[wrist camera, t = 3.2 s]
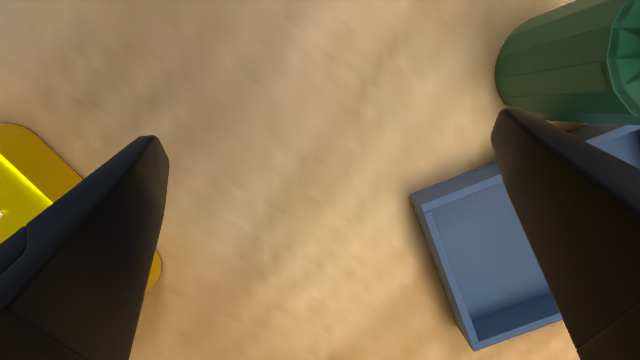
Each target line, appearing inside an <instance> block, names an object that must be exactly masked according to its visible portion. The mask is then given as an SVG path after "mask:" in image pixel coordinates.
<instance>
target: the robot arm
mask: <svg viewBox="0 0 640 360" xmlns="http://www.w3.org/2000/svg"><path fill="white" fill-rule="evenodd" d="M491 143H492V146H493V150H494V153H495V156H496V160H497V163H498V166H499V170H500V173H501V177H502V180H503V183H504V186H505V189H506V191H507V194H508V196H509V199H510V201H511V203H512V205H513V208H514V210H515V212H516V214H517V217H518V219H519V221H520V223H521V226H522V228H523V230H524V233H525V235H526V237H527V239H528V242H529V244H530V246H531V248H532V251H533V253H534V255H535V257H536V260H537V262H538V264H539V267H540V269H541V271H542V273H543V276H544V278H545V280H546V282H547V285H548V287H549V289H550V291H551V294H552V296H553V298H554V300H555V303H556V305H557V307H558V310H559V312H560V314H561V316H562V319H563V321H564V323H565V325H566V328H567V330H568V332H569V334H570V337H571V339H572V341H573V344H574V346H575V348H576V349H577V350H576V351H577V353H578V355H579V358H580V360H640V169H639V168H637V167H635V166H633V165H631V164H629V163H627V162H625V161H623V160H621V159H619V158H617V157H615V156H613V155H611V154H609V153H607V152H605V151H603V150H601V149H599V148H597V147H595V146H593V145H591V144H590V143H588V142H586V141H584V140H582V139H580V138H578V137H576V136H574V135H572V134H570V133H568V132H566V131H564V130H562V129H560V128H558V127H556V126H554V125H552V124H550V123H548V122H546V121H544V120H542V119H541V118H539V117H537V116H535V115H533V114H531V113H529V112H527V111H525V110H523V109H521V108H518V107H514V108H504V109H502V110H501V111H500V112H499V114H498V117H497V119H496V122H495V125H494V127H493V130H492V133H491ZM168 175H169V159H168V157H167V155H166V153H165V151H164V149H163V146H162V144H161V142H160V140H159V139H158V138H157V137H156V136H154V135H150V136H140V137H138V138H137V139H135V140H134V141H133V142H131V143H130V144H129V145H128V146H126V147H125V148H124V149H122V150H121V151H120V152H118V153H117V154H116V155H115V156H113V157H112V158H111V159H109V160H108V161H107V162H106V163H104V164H103V165H102V166H100V167H99V168H98V169H96V170H95V171H94V172H93V173H91V174H90V175H89V176H87V177H86V178H85V179H84V180H82V181H81V182H80V183H78V184H77V185H76V186H74V187H73V188H72V189H71V190H69V191H68V192H67V193H65V194H64V195H63V196H62V197H60V198H59V199H58V200H56V201H55V202H54V203H52V204H51V205H50V206H49V207H47V208H46V209H45V210H43V211H42V212H41V213H40V214H38V215H37V216H36V217H34V218H33V219H32V220H30V221H29V222H28V223H27V224H26V226H23V227H21V228H20V229H19V230H17V231H16V232H15V233H14V234H12V235H11V236H10V237H8V238H7V239H6V240H4V241H3V242H2V243H0V360H129V356H130V352H131V348H132V344H133V340H134V336H135V332H136V328H137V323H138V319H139V315H140V311H141V307H142V303H143V299H144V295H145V291H146V287H147V283H148V278H149V274H150V270H151V266H152V262H153V258H154V254H155V250H156V246H157V242H158V238H159V233H160V229H161V225H162V221H163V216H164V210H165V202H166V193H167V184H168Z"/></svg>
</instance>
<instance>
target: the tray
mask: <svg viewBox="0 0 640 360" xmlns="http://www.w3.org/2000/svg"><path fill="white" fill-rule="evenodd" d="M568 133H570V134H572V135H574V136H576V137H578V138H580V139H582V140H584V141H586V142H588V143H590V144H591V145H593V146H595V147H597V148H599V149H601V150H603V151H605V152H607V153H609V154H611V155H613V156H615V157H617V158H619V159H621V160H623V161H625V162H627V163H629V164H631V165H633V166H635V167H637V168H639V169H640V126H639V125H621V124H603V123H591V124H588V125H586V126H583V127H581V128H578V129H576V130H573V131H570V132H568ZM409 196H410V199H411V201H412V204H413V207H414V210H415V212H416V215H417V218H418V220H419V223H420V226H421V228H422V231H423V234H424V237H425V239H426V242H427V245H428V247H429V250H430V253H431V256H432V258H433V261H434V264H435V266H436V269H437V272H438V274H439V277H440V280H441V283H442V285H443V288H444V291H445V293H446V296H447V299H448V302H449V304H450V307H451V310H452V312H453V315H454V318H455V320H456V323H457V326H458V328H459V330H460V331H461V333H462V334H463V336H464V337H465V339H466V340H467V342H468V344H469V345H470V347H471V348H472V350H473V351H477V350H479V349H482V348H485V347H488V346H490V345H493V344H496V343H499V342H502V341H504V340H507V339H510V338H513V337H516V336H518V335H521V334H524V333H527V332H529V331H532V330H535V329H538V328H541V327H543V326H546V325H549V324H552V323H554V322H557V321H560V320H563V319H562V316H561V314H560V312H559V310H558V307H557V305H556V303H555V300H554V298H553V296H552V294H551V291H550V289H549V287H548V285H547V282H546V280H545V278H544V276H543V273H542V271H541V269H540V267H539V264H538V262H537V260H536V257H535V255H534V253H533V251H532V248H531V246H530V244H529V242H528V239H527V237H526V235H525V233H524V230H523V228H522V226H521V223H520V221H519V219H518V217H517V214H516V212H515V210H514V208H513V205H512V203H511V201H510V199H509V196H508V194H507V191H506V189H505V186H504V183H503V180H502V177H501V173H500V170H499V166H498V163H497V161H494V162H492V163H489V164H487V165H484V166H481V167H479V168H476V169H474V170H471V171H469V172H466V173H464V174H461V175H459V176H456V177H453V178H451V179H448V180H446V181H443V182H441V183H438V184H436V185H433V186H431V187H428V188H426V189H423V190H420V191H418V192H415V193H413V194H410V195H409Z"/></svg>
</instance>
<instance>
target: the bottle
mask: <svg viewBox="0 0 640 360" xmlns="http://www.w3.org/2000/svg"><path fill="white" fill-rule="evenodd" d="M495 77H496V84H497V88H498V91H499V94H500V96H501V97H502V99H503V101H504V102H505V103H506V105H507V106H508V107H509V108H514V107H518V108H521V109H523V110H525V111H527V112H529V113H531V114H533V115H535V116H537V117H539V118H541V119H542V120H548V121H566V122H585V123H603V124H621V125H639V126H640V0H576V1H574V2H571V3H569V4H566V5H564V6H562V7H559V8H557V9H554V10H552V11H549V12H547V13H545V14H542V15H540V16H537V17H535V18H533V19H530V20H528V21H526V22H525V23H523V24H522V25H520V26H519V27H518V28H517V29H515V30H514V31H513V32H512V33H511V34H510V36H509V37H508V38H507V40H506V41H505V43H504V44H503V46H502V48H501V50H500V53H499V55H498V58H497V62H496V70H495Z"/></svg>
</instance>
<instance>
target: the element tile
mask: <svg viewBox="0 0 640 360" xmlns="http://www.w3.org/2000/svg"><path fill="white" fill-rule="evenodd" d="M82 180H83V179H82V178H81V177H80V176H79V175H77V174H76V173H75V172H74V171H73V170H72V169H71V168H70V167H69V166H68V165H67V164H66V163H65V162H64V161H63V160H62V159H61V158H60V157H59V156H58V155H57V154H56V153H55V152H53V151H52V150H51V149H50V148H49V147H48V146H47V145H46V144H45V143H44V142H43V141H42V140H41V139H40V138H39V137H38V136H37V135H35V134H34V133H33V132H31V131H30V130H28V129H26V128H24V127H22V126H19V125H17V124H8V123H0V243H2V242H3V241H4V240H6V239H7V238H8V237H10V236H11V235H12V234H14V233H15V232H16V231H17V230H19V229H20V228H21V227H23V226H26V224H27V223H28V222H29V221H30V220H32V219H33V218H34V217H36V216H37V215H38V214H40V213H41V212H42V211H43V210H45V209H46V208H47V207H49V206H50V205H51V204H52V203H54V202H55V201H56V200H58V199H59V198H60V197H62V196H63V195H64V194H65V193H67V192H68V191H69V190H71V189H72V188H73V187H74V186H76V185H77V184H78V183H80V182H81V181H82ZM160 274H161V260H160V258H159V255H158V253H157V252H156V250H155V254H154V258H153V262H152V266H151V270H150V274H149V278H148V283H147V287H146V291H145V295H146V294H147V293H148V292H149V291H150V289H151V288H152V287H153V286H154V285H155V284H156V282H157V281H158V278H159V276H160ZM145 295H144V296H145Z"/></svg>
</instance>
